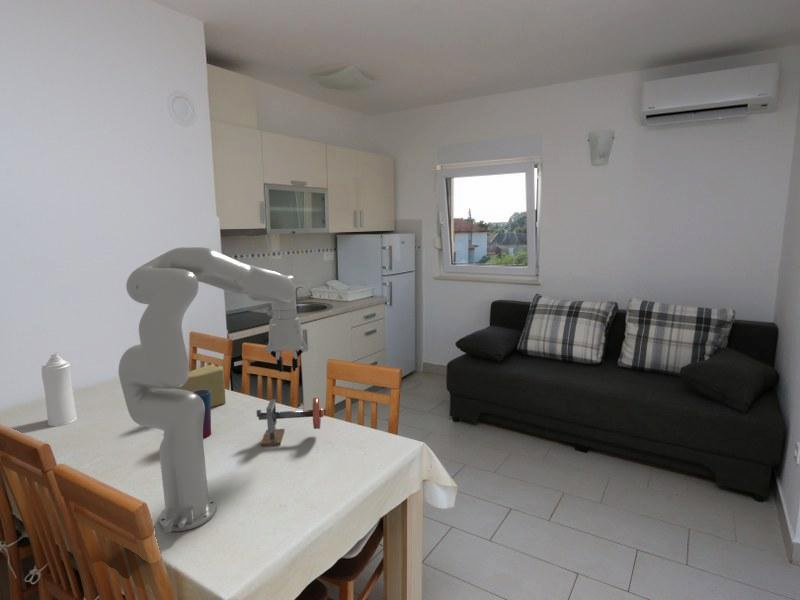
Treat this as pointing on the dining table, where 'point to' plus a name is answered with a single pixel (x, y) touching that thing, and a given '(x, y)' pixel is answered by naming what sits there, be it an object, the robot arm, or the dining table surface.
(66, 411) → the spray can
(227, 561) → the dining table surface
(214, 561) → the dining table surface
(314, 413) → the copper disc on rod
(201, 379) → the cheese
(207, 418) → the cup
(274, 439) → the eye post
